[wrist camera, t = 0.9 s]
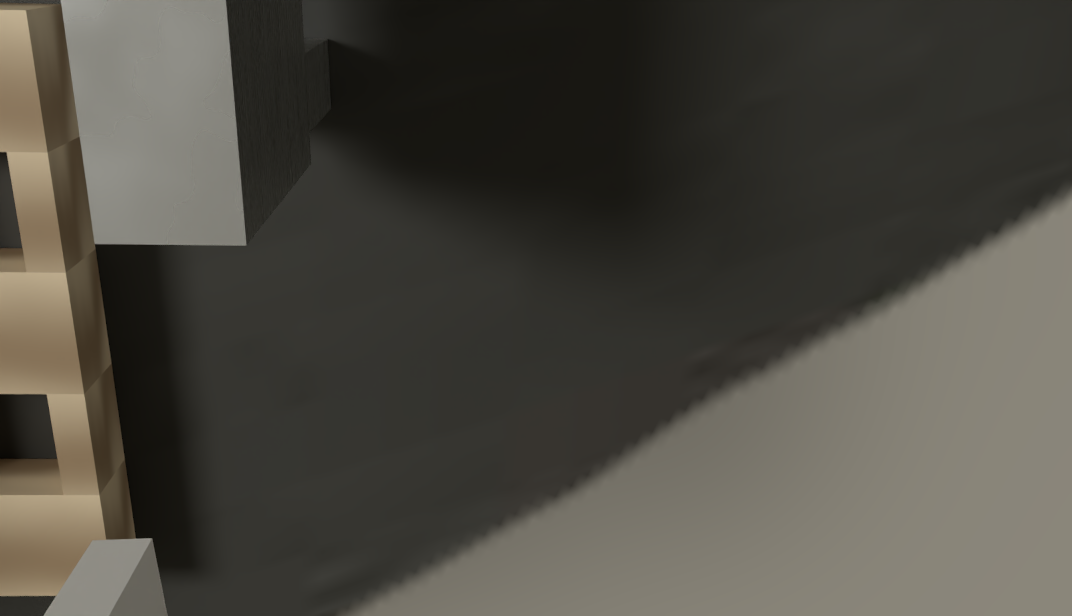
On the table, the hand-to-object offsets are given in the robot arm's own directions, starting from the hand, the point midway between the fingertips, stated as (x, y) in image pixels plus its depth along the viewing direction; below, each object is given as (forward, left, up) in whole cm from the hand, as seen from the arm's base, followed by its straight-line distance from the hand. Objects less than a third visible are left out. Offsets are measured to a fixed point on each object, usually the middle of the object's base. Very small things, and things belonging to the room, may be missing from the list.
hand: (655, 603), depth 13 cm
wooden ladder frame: (+4, -19, -22) cm, 29 cm away
